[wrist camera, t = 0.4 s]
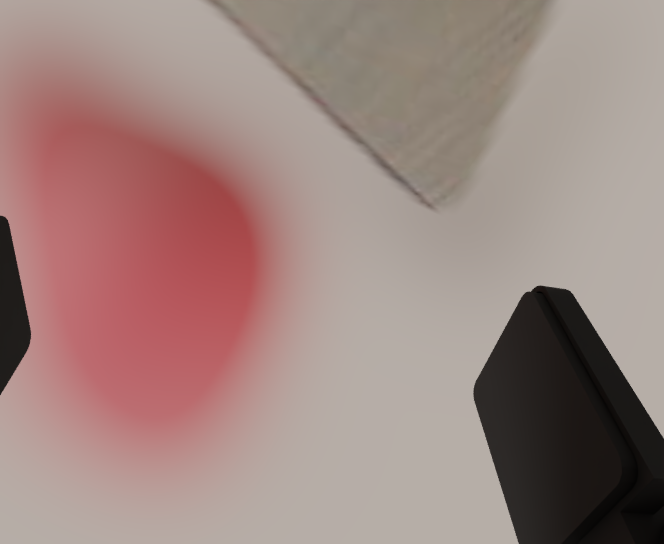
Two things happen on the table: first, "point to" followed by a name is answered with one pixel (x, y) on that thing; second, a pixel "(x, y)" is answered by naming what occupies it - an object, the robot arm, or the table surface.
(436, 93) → the table surface
